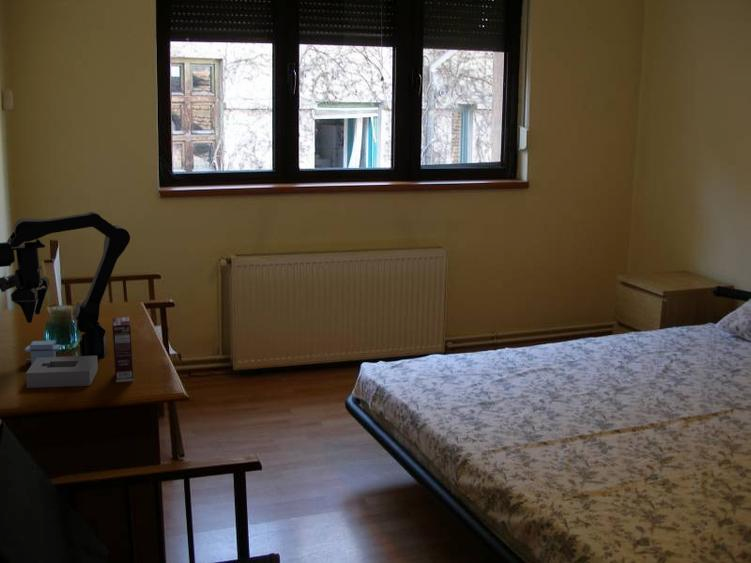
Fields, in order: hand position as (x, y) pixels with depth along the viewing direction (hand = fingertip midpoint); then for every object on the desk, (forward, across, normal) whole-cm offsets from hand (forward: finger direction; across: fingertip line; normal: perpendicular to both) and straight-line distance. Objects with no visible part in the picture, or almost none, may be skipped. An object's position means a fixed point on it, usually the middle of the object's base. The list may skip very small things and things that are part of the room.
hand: (33, 318), depth 253 cm
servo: (+13, +1, +2) cm, 13 cm away
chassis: (+13, +16, +10) cm, 23 cm away
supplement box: (+14, +16, +26) cm, 34 cm away
